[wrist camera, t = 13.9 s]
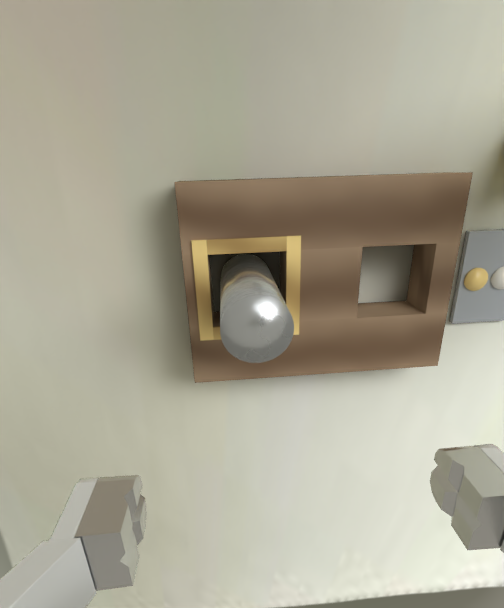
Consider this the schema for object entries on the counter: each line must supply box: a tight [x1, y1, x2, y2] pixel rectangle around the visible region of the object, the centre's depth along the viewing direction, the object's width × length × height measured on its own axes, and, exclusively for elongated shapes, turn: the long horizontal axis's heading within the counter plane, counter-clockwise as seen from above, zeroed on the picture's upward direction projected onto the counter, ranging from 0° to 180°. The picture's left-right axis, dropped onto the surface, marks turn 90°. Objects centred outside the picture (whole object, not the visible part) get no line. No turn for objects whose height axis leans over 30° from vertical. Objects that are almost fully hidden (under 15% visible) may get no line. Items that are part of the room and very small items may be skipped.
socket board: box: [175, 173, 472, 383], centre depth 27 cm, size 15×20×3 cm
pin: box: [220, 254, 294, 363], centre depth 23 cm, size 4×4×10 cm
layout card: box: [450, 229, 504, 324], centre depth 30 cm, size 8×5×1 cm, turn 2°
